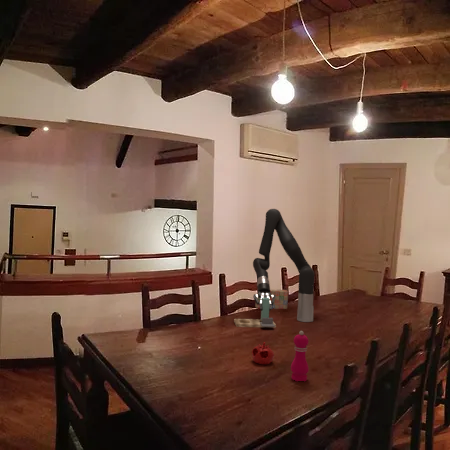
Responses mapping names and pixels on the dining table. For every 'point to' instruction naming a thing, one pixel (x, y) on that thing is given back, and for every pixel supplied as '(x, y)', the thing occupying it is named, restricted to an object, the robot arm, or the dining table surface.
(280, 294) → the stack of blocks
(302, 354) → the pepper mill
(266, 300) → the peg
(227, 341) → the dining table surface
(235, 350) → the dining table surface
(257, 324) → the puzzle board
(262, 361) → the pomegranate
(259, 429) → the dining table surface
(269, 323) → the lid
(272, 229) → the robot arm
